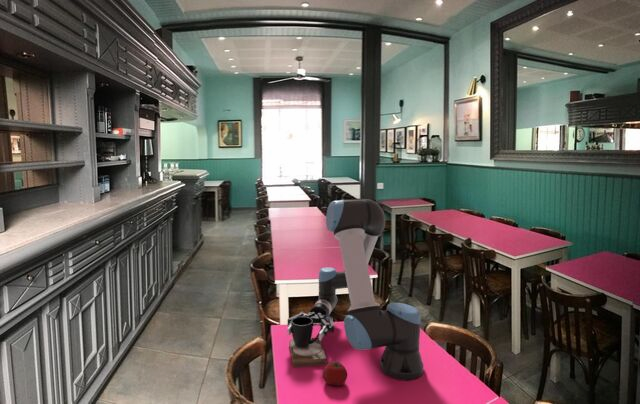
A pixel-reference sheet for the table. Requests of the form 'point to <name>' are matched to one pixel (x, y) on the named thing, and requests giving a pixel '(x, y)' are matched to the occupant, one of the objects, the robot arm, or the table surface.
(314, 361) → the wooden coaster block
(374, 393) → the table surface
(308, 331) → the mug
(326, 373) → the tomato
